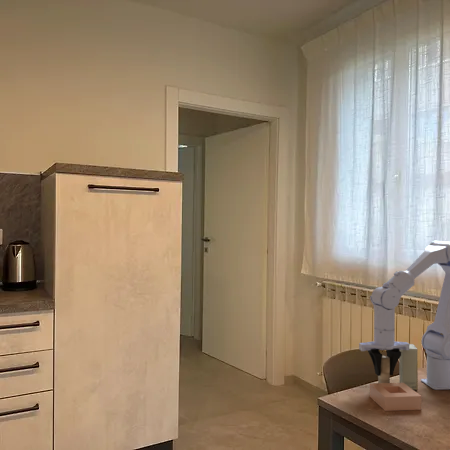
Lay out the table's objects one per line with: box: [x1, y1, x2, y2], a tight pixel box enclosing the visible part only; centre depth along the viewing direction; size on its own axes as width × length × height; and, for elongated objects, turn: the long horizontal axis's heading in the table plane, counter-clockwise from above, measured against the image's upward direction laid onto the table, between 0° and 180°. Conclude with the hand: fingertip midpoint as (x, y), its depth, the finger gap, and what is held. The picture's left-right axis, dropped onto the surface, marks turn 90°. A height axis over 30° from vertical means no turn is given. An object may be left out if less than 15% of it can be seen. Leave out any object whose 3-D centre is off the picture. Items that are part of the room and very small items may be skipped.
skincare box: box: [398, 343, 419, 391], centre depth 136 cm, size 6×4×12 cm
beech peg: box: [377, 355, 391, 383], centre depth 132 cm, size 3×3×8 cm
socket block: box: [369, 382, 423, 412], centre depth 123 cm, size 10×10×4 cm
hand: (384, 374), depth 132 cm, fingers closed on beech peg, 3 cm apart
